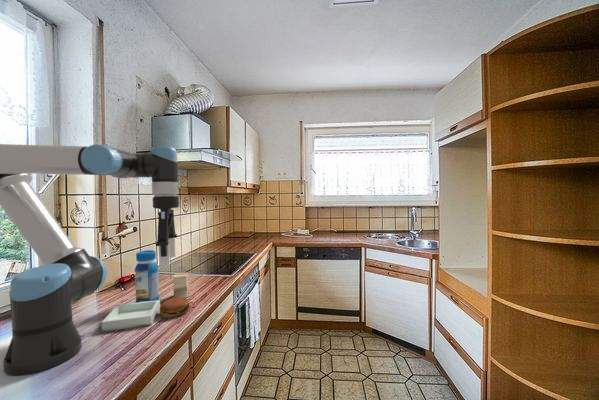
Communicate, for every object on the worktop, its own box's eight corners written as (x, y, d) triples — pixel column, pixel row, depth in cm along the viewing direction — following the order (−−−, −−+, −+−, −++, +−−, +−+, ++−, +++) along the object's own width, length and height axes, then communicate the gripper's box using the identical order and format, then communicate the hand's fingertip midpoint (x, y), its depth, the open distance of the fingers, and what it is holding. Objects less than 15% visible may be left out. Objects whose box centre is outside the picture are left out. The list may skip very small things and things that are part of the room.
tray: (151, 324, 90) (151, 315, 90) (101, 331, 86) (101, 322, 86) (160, 307, 104) (160, 299, 104) (117, 313, 100) (117, 304, 100)
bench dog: (187, 297, 114) (186, 275, 113) (173, 298, 112) (173, 276, 112) (188, 293, 118) (187, 272, 118) (175, 294, 117) (175, 273, 117)
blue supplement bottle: (161, 302, 109) (159, 252, 108) (136, 308, 104) (134, 255, 103) (158, 296, 115) (156, 248, 115) (134, 301, 111) (132, 251, 110)
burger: (153, 317, 96) (153, 304, 96) (171, 306, 105) (171, 294, 105) (178, 320, 94) (178, 306, 94) (194, 308, 103) (194, 296, 103)
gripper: (173, 195, 78) (176, 270, 78) (182, 195, 101) (184, 252, 102) (143, 196, 75) (146, 273, 76) (159, 195, 99) (162, 254, 100)
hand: (168, 261), depth 89 cm, fingers open, 13 cm apart
